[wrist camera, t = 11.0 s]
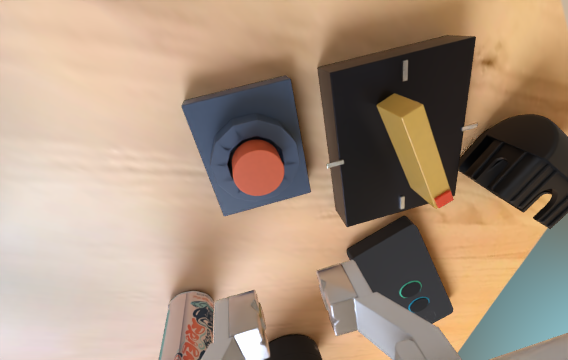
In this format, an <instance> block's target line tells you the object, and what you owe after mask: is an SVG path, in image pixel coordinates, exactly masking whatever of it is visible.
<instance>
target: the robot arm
mask: <svg viewBox="0 0 568 360" xmlns="http://www.w3.org/2000/svg"><path fill="white" fill-rule="evenodd" d="M316 273H317V278H318V281H319V283H320V284H319V288H320V292H321V296H322V299H323V302H324V305H325V308H326V310H328V313H329V318H330V321H331V324H332V327H333V329H334V332H335V334H336V336H338V335H342V334H345V333H349V332H352V331H356V330H358V331H359V332H360V333H361V334H362V335H364V336H365V337H366V338H367V339H368V340H370V341H371V342H372V343H373V344H374V345H376V346H377V347H378V348H379V349H380V350H382V351H383V352H384V353H385V354H386V355H388V356H389V357H390V358H391V359H392V360H462V359H461V358H460V356H459V355H458V354H457V352H456V351H455V350H454V348H453V347H452V345H451V344H450V343H449V341H448V340H447V339H446V337H445V336H444V334H443V333H442V332H441V330H440V329H439V328H438V327H436V326H435V325H433V324H431V323H430V322H428V321H426V320H424V319H423V318H421V317H419V316H417V315H416V314H414V313H412V312H410V311H409V310H407V309H405V308H404V307H402V306H400V305H398V304H397V303H395V302H393V301H391V300H390V299H388V298H386V297H385V296H383V295H381V294H379V293H378V292H375V293H373V292H372V290H371V289H370V287H369V285H368V283H367V282H366V280H365V278H364V277H363V275H362V273H361V271H360V270H359V268H358V266H357V264H356V263H355V261H354V260H350V261H347V262H343V263H341V264H340V263H339V264H336V265H333V266H330V267H327V268H324V269H320V270H317V271H316ZM265 329H266V324H265V318H264V314H263V310H262V307H261V304H260V303H259V302H258V297H257V294H256V291H255V290H252V291H249V292H245V293H241V294H238V295H234V296H230V297H227V298H223V299H220V300H216V302H215V312H214V343H211V344H209V346H208V348H207V350H206V351H205V353H204V355H203V357H202V358H201V360H264V359H267V358H270V351H269V344H268V338H267V336H266V333H265ZM490 360H568V333H566V334H563V335H560V336H557V337H554V338H551V339H548V340H546V341H542V342H540V343H537V344H534V345H531V346H528V347H525V348H522V349H519V350H516V351H513V352H510V353H507V354H504V355H501V356H498V357H495V358H493V359H490Z"/></svg>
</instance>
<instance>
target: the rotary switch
mask: <svg viewBox="0 0 568 360" xmlns="http://www.w3.org/2000/svg"><path fill="white" fill-rule="evenodd" d="M475 40H476V37H475V36H451V35H447V36H443V37H439V38H435V39H430V40H426V41H422V42H418V43H414V44H410V45H406V46H402V47H398V48H394V49H390V50H386V51H382V52H378V53H374V54H370V55H366V56H362V57H358V58H354V59H350V60H345V61H341V62H337V63H333V64H329V65H325V66H321V67H318V68H317V69H318V76H319V84H320V92H321V99H322V107H323V115H324V123H325V130H326V138H327V146H328V153H329V161H330V163H327V168H330V169H331V177H332V184H333V192H334V200H335V207H336V211H337V212H338V214H339V215H340V217H341V219H342V220H343V222H344V223H345V225H346V227H349V226H353V225H356V224H360V223H363V222H367V221H370V220H374V219H377V218H380V217H384V216H387V215H391V214H394V213H398V212H401V211H404V210H408V209H411V208H415V207H418V206H422V205H425V204H428V202H427V201H426V200H425V199H423V198H422V197H421V196H420V195H419V194H418V193H416V192H415V191H414V190H413V189H412V188H411V187H410V185H409V182H408V180H407V178H406V175H405V173H404V170H403V168H402V166H401V163H400V161H399V158H398V156H397V154H396V151H395V149H394V146H393V144H392V142H391V139H390V137H389V134H388V132H387V130H386V127H385V125H384V123H383V120H382V118H381V115H380V113H379V111H378V108H377V104H379V103H380V102H382V101H383V100H385V99H386V98H388V97H389V96H391V95H392V94H394V93H395V94H398V95H400V96H403V97H406V98H408V99H411V100H413V101H416V102H419V103H421V104H423V105H424V108H425V111H426V115H427V118H428V121H429V124H430V127H431V130H432V133H433V137H434V140H435V143H436V146H437V149H438V152H439V155H440V159H441V162H442V165H443V168H444V171H445V174H446V177H447V180H448V184H449V187H450V190H451V193H452V196H455V190H456V182H457V175H458V167H459V160H460V152H461V145H462V137H463V131H465V130H469V129H473V128H476V127H477V126H478V123H474V124H470V125H467V126H464V122H465V115H466V107H467V100H468V92H469V85H470V77H471V70H472V62H473V55H474V47H475Z"/></svg>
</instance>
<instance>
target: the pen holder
mask: <svg viewBox="0 0 568 360" xmlns="http://www.w3.org/2000/svg"><path fill="white" fill-rule="evenodd" d="M268 344H269V351H270V358H267V359H264V360H322V358H321V355H320V352H319V349H318V347H317V345H316V343H315V342H314V341H313V340H312V339H310V338H308V337H306V336H302V335H289V336H284V337H281V338H278V339H276V340H274V341H272V342H270V343H268Z"/></svg>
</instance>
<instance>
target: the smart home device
mask: <svg viewBox="0 0 568 360" xmlns="http://www.w3.org/2000/svg"><path fill="white" fill-rule="evenodd" d="M347 255H348V257H349V259H350V260H354V261H355V263H356V264H357V266H358V268H359V270H360V271H361V273H362V275H363V277H364V278H365V280H366V282H367V283H368V285H369V287H370V289H371V290H372V292H373V293H375V292H378V293H379V294H381V295H383V296H385V297H386V298H388V299H390V300H391V301H393V302H395V303H397V304H398V305H400V306H402V307H404V308H405V309H407V310H409V311H410V312H412V313H414V314H416V315H417V316H419V317H421V318H423V319H424V320H426V321H428V322H430V323H431V324H432V323H434V322H436V321H438V320H440V319H442V318H444V317H445V316H447V315H449V314H451V313H452V312H453V307H452V305H451V302H450V300H449V298H448V296H447V293H446V291H445V289H444V287H443V284H442V282H441V280H440V277H439V275H438V273H437V271H436V268H435V266H434V264H433V262H432V259H431V257H430V255H429V253H428V250H427V248H426V246H425V243H424V241H423V239H422V237H421V234H420V232H419V230H418V228H417V227H416V226H415V225H414V224H413V223H412V222H411V220H410V219H409V218H408V217H406V216H403V217H401V218H399V219H397V220H396V221H394V222H392V223H391V224H389V225H387V226H386V227H384V228H382V229H381V230H379V231H377V232H375V233H374V234H372V235H370V236H369V237H367V238H365V239H364V240H362V241H360V242H358V243H357V244H355V245H353V246H352V247H350V248H348V249H347Z"/></svg>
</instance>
